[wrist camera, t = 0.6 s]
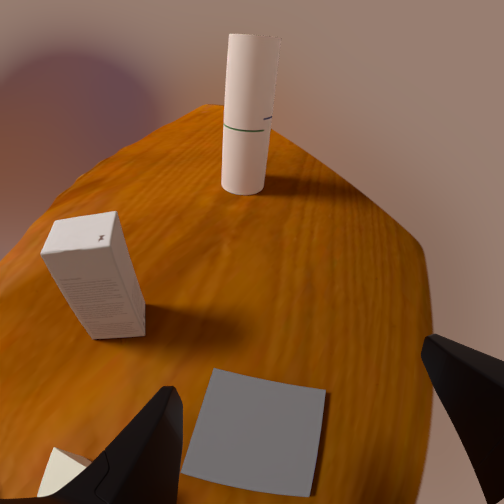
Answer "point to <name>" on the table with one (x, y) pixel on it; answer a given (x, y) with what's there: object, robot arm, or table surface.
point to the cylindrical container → (248, 111)
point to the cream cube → (61, 471)
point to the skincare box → (96, 275)
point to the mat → (256, 435)
